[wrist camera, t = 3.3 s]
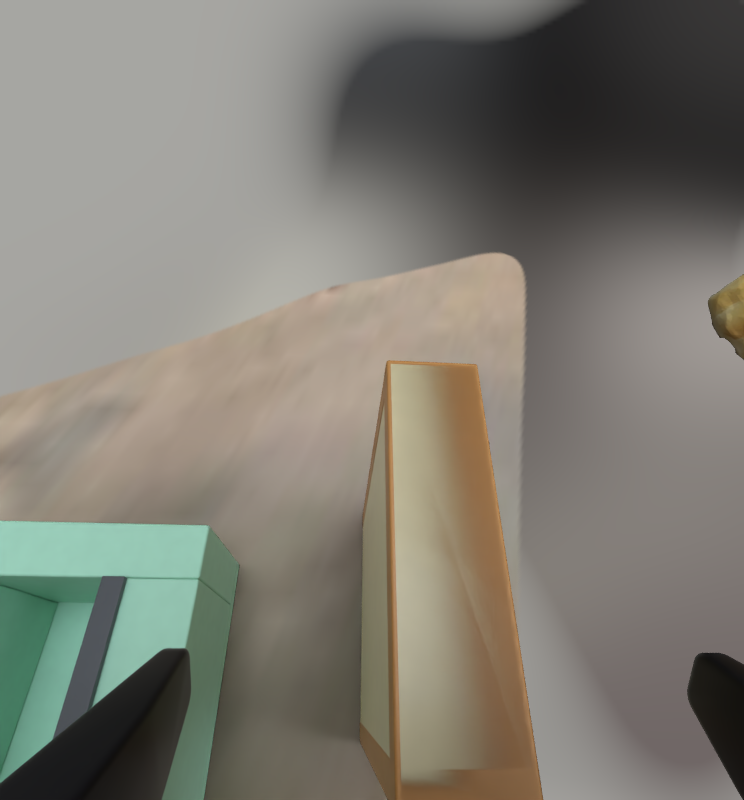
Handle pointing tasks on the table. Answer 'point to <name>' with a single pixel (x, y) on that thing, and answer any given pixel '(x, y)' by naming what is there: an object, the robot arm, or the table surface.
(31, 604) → the toaster
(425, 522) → the toast
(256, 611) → the table surface
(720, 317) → the pastry
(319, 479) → the table surface
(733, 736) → the robot arm
